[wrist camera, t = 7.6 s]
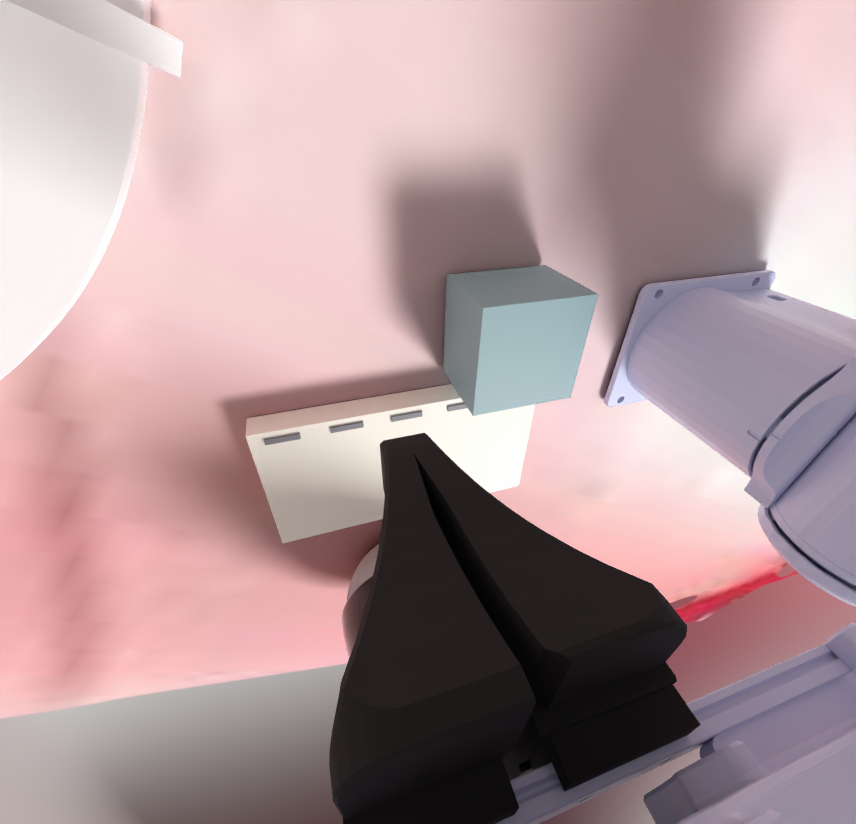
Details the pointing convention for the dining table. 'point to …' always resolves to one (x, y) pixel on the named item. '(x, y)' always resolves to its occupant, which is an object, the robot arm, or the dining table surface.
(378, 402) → the white slotted box
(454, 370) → the pale blue cube
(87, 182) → the lazy susan
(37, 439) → the dining table surface
